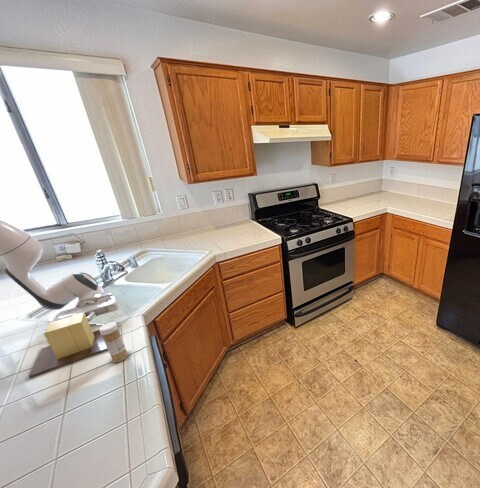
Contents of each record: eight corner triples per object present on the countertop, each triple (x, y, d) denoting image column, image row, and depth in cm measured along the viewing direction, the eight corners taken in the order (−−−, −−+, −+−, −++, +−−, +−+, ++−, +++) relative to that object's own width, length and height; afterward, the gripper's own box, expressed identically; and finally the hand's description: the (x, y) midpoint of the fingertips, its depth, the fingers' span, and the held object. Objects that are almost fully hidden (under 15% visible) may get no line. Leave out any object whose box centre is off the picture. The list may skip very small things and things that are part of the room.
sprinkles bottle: (124, 351, 93) (111, 320, 89) (131, 355, 91) (119, 323, 87) (109, 360, 90) (95, 328, 85) (116, 364, 88) (103, 331, 83)
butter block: (57, 359, 90) (43, 333, 87) (61, 347, 96) (49, 322, 92) (79, 351, 94) (67, 325, 90) (82, 340, 99) (71, 316, 95)
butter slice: (80, 351, 94) (68, 325, 90) (83, 340, 99) (72, 315, 96) (92, 347, 95) (81, 322, 92) (94, 336, 101) (84, 312, 98)
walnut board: (29, 378, 84) (28, 376, 84) (42, 349, 96) (41, 348, 96) (114, 347, 96) (113, 345, 95) (116, 326, 108) (115, 324, 108)
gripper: (54, 308, 107) (45, 324, 96) (116, 291, 118) (114, 304, 107) (60, 321, 109) (52, 338, 98) (120, 303, 120) (119, 317, 109)
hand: (85, 320), depth 103 cm, fingers closed
